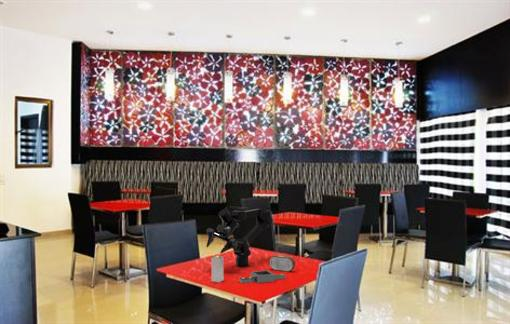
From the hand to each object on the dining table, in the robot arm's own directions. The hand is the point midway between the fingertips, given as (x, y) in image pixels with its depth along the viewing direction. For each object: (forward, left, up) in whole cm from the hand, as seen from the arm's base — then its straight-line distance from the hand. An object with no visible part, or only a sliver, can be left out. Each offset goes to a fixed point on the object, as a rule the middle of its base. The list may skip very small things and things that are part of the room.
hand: (213, 249), depth 242 cm
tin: (-36, +13, -13) cm, 40 cm away
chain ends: (-17, +25, -13) cm, 32 cm away
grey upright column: (+4, +15, -13) cm, 20 cm away
